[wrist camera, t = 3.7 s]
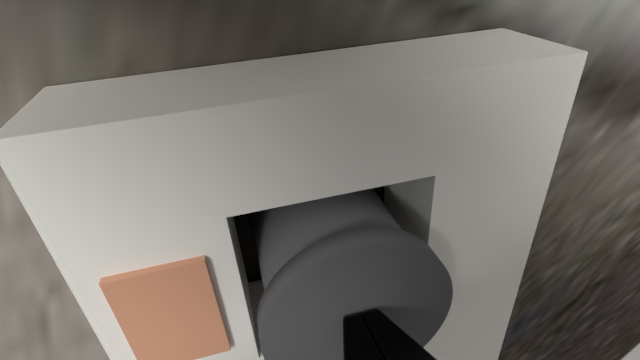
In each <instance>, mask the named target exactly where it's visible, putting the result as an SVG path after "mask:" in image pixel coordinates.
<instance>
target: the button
mask: <svg viewBox="0 0 640 360" xmlns="http://www.w3.org/2000/svg"><path fill="white" fill-rule="evenodd" d="M251 222H252V229H253V234H254V239H255V244H256V250H257V255H258V260H259V266H260V271H261V276H262V281H263V287H264V292H263V295H262V297H261V299H260V302H259V306H258V310H257V325H258V333H259V339H260V346H261V351H262V354H263V357H264V360H344V356H343V317H345V316H348V315H352V314H356V313H359V314H361V312H363V311H367V310H371V309H379V310H380V311H381V312H382V313H384V314H385V315H386V316H387V317H388V318H389V319H391V320H392V321H393V322H394V323H395V324H396V325H397V326H399V327H400V328H401V329H402V330H403V331H404V332H406V333H407V334H408V335H409V336H410V337H411V338H413V339H414V340H415V341H416V342H417V343H418V344H419V345H421V346H422V347H424V346H425V345H426V344H427V343H428V342H429V341H430V340H431V339H432V338H433V337H434V335H435V334H436V333H437V331H438V330H439V329H440V327H441V326H442V324H443V322H444V321H445V319H446V317H447V315H448V312H449V310H450V306H451V302H452V296H453V286H452V281H451V277H450V274H449V272H448V271H447V269H446V267H445V266H444V265H443V263H442V262H441V261H440V259H439V258H438V257H437V255H436V254H435V253H434V251H433V250H432V249H431V248H430V247H429V245H428V244H427V243H426V242H424V241H423V240H422V239H421V238H419V237H417V236H416V235H414V234H412V233H409V232H407V231H404V230H402V229H401V227H400V226H399V224H398V223H397V222H396V220H395V219H394V217H393V216H392V215H391V213H390V212H389V210H388V209H387V208H386V206H385V205H384V203H383V202H382V201H381V199H380V198H379V196H378V195H377V194H376V192H375V191H374V189H373V188H371V189H366V190H361V191H356V192H351V193H346V194H341V195H336V196H331V197H326V198H321V199H316V200H311V201H306V202H301V203H297V204H292V205H287V206H282V207H277V208H272V209H267V210H262V211H257V212H252V213H251Z"/></svg>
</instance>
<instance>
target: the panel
mask: <svg viewBox="0 0 640 360" xmlns="http://www.w3.org/2000/svg"><path fill="white" fill-rule="evenodd" d="M587 54H588V52H587V51H584V50H580V49H577V48H573V47H569V46H566V45H562V44H559V43H555V42H551V41H548V40H544V39H541V38H537V37H533V36H530V35H526V34H523V33H519V32H515V31H512V30H508V29H504V28H498V29H491V30H483V31H475V32H467V33H459V34H452V35H444V36H436V37H428V38H421V39H413V40H405V41H397V42H390V43H382V44H374V45H366V46H358V47H351V48H343V49H335V50H327V51H320V52H312V53H304V54H296V55H289V56H281V57H273V58H265V59H258V60H250V61H242V62H234V63H226V64H219V65H211V66H203V67H195V68H188V69H180V70H172V71H164V72H157V73H149V74H141V75H133V76H125V77H118V78H110V79H102V80H94V81H87V82H79V83H71V84H63V85H56V86H48V87H44V88H43V89H42V90H41V91H40V92H39V93H38V94H37V95H36V96H35V97H34V98H33V99H31V100H30V101H29V102H28V103H27V104H26V105H25V106H24V107H23V108H22V109H21V110H20V111H19V112H17V113H16V114H15V115H14V116H13V117H12V118H11V119H10V120H9V121H8V122H7V123H6V124H5V125H4V126H2V127H1V128H0V165H1V167H2V169H3V171H4V172H5V174H6V176H7V178H8V179H9V181H10V183H11V185H12V186H13V188H14V190H15V192H16V194H17V195H18V197H19V199H20V201H21V202H22V204H23V206H24V208H25V209H26V211H27V213H28V215H29V217H30V218H31V220H32V222H33V224H34V225H35V227H36V229H37V231H38V232H39V234H40V236H41V238H42V240H43V241H44V243H45V245H46V247H47V248H48V250H49V252H50V254H51V255H52V257H53V259H54V261H55V263H56V264H57V266H58V268H59V270H60V271H61V273H62V275H63V277H64V278H65V280H66V282H67V284H68V286H69V287H70V289H71V291H72V293H73V294H74V296H75V298H76V300H77V301H78V303H79V305H80V307H81V309H82V310H83V312H84V314H85V316H86V317H87V319H88V321H89V323H90V324H91V326H92V328H93V330H94V332H95V333H96V335H97V337H98V339H99V340H100V342H101V344H102V346H103V347H104V349H105V351H106V353H107V355H108V356H109V358H110V360H264V357H263V354H262V351H261V346H260V339H259V333H258V325H257V310H258V306H259V302H260V299H261V297H262V295H263V292H264V287H263V281H262V279H260V280H256V281H252V282H248V280H247V276H246V271H245V266H244V262H243V257H242V253H241V248H240V244H239V239H238V235H237V230H236V226H235V221H234V217H233V216H237V215H242V214H247V213H252V212H257V211H262V210H267V209H272V208H277V207H282V206H287V205H292V204H297V203H301V202H306V201H311V200H316V199H321V198H326V197H331V196H336V195H341V194H346V193H351V192H356V191H361V190H366V189H371V188H376V187H381V186H384V205H385V206H386V208H387V209H388V210H389V212H390V213H391V215H392V216H393V217H394V219H395V220H396V222H397V223H398V224H399V226H400V227H401V229H402V230H404V231H407V232H409V233H412V234H414V235H416V236H417V237H419V238H421V239H422V240H423V241H424V242H426V243H427V244H428V245H429V247H430V248H431V249H432V250H433V251H434V253H435V254H436V255H437V257H438V258H439V259H440V261H441V262H442V263H443V265H444V266H445V267H446V269H447V271H448V272H449V274H450V277H451V281H452V286H453V296H452V302H451V306H450V310H449V312H448V315H447V317H446V319H445V321H444V322H443V324H442V326H441V327H440V329H439V330H438V331H437V333H436V334H435V335H434V337H433V338H432V339H431V340H430V341H429V342H428V343H427V344H426V345H425V346H424V347H423V348H424V349H425V350H426V351H428V352H429V353H430V354H431V355H432V356H433V357H434V358H436V359H437V360H498V357H499V353H500V350H501V347H502V343H503V340H504V336H505V333H506V330H507V326H508V323H509V319H510V316H511V313H512V309H513V306H514V302H515V299H516V296H517V292H518V289H519V285H520V282H521V279H522V275H523V272H524V268H525V265H526V262H527V258H528V255H529V252H530V248H531V245H532V241H533V238H534V235H535V231H536V228H537V224H538V221H539V218H540V214H541V211H542V207H543V204H544V201H545V197H546V194H547V190H548V187H549V184H550V180H551V177H552V173H553V170H554V167H555V163H556V160H557V156H558V153H559V150H560V146H561V143H562V139H563V136H564V133H565V129H566V126H567V122H568V119H569V116H570V112H571V109H572V105H573V102H574V99H575V95H576V92H577V88H578V85H579V82H580V78H581V75H582V71H583V68H584V65H585V61H586V58H587Z"/></svg>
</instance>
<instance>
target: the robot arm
mask: <svg viewBox="0 0 640 360" xmlns="http://www.w3.org/2000/svg"><path fill="white" fill-rule="evenodd" d="M343 356H344V360H437V359H436V358H434V357H433V356H432V355H431V354H430V353H429V352H428V351H426V350H425V349H424V348H423V347H422V346H421V345H419V344H418V343H417V342H416V341H415V340H414V339H413V338H411V337H410V336H409V335H408V334H407V333H406V332H404V331H403V330H402V329H401V328H400V327H399V326H397V325H396V324H395V323H394V322H393V321H392V320H391V319H389V318H388V317H387V316H386V315H385V314H384V313H382V312H381V311H380V310H379V309H371V310H367V311H363V312H361V314H359V313H356V314H352V315H348V316H345V317H343Z"/></svg>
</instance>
